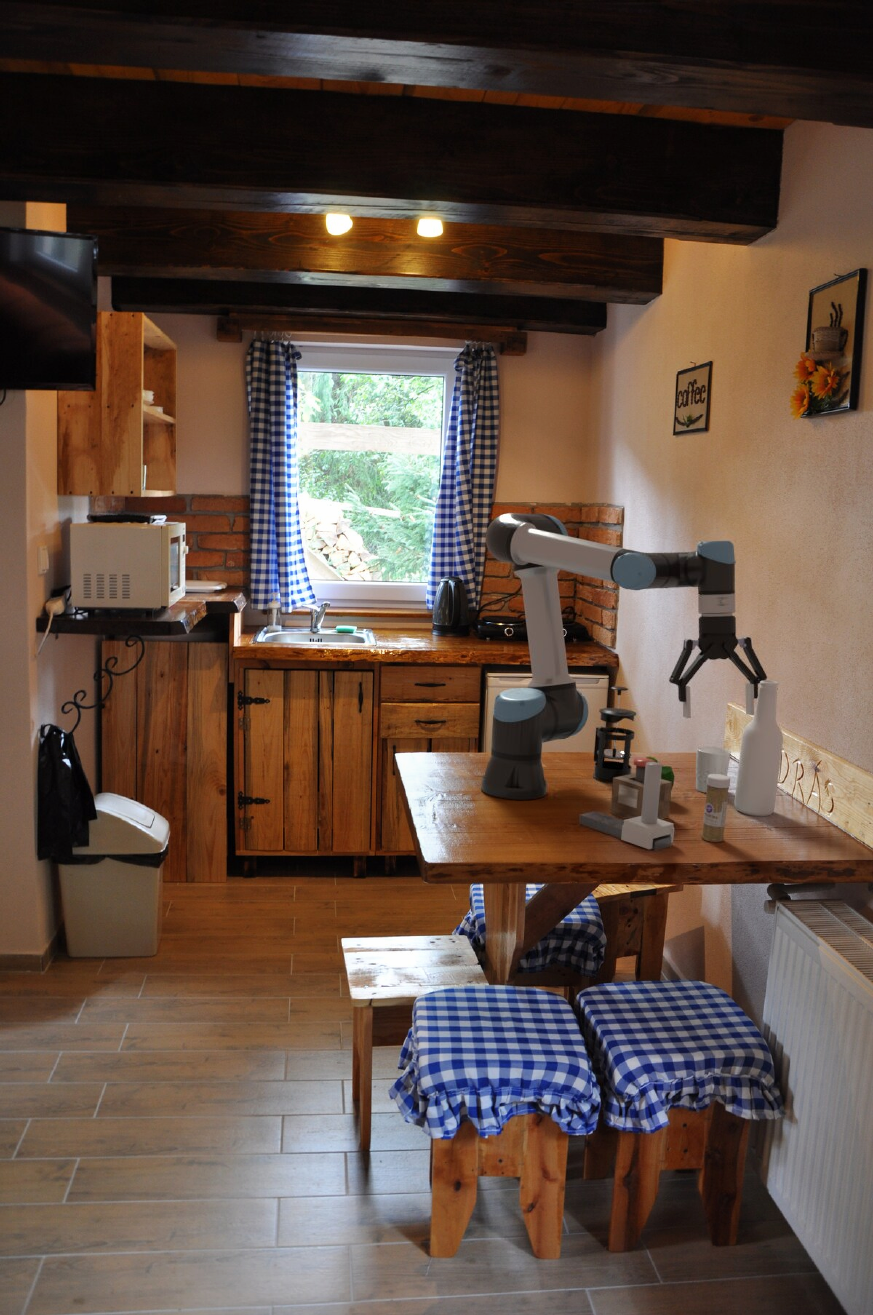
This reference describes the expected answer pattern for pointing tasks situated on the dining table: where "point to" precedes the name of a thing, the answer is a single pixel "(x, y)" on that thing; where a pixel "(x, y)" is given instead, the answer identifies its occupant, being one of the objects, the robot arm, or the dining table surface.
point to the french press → (612, 768)
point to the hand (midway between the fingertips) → (718, 716)
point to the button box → (636, 797)
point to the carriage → (648, 813)
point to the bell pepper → (665, 772)
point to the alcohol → (760, 756)
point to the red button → (641, 768)
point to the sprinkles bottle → (715, 807)
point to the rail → (616, 827)
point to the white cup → (710, 764)
